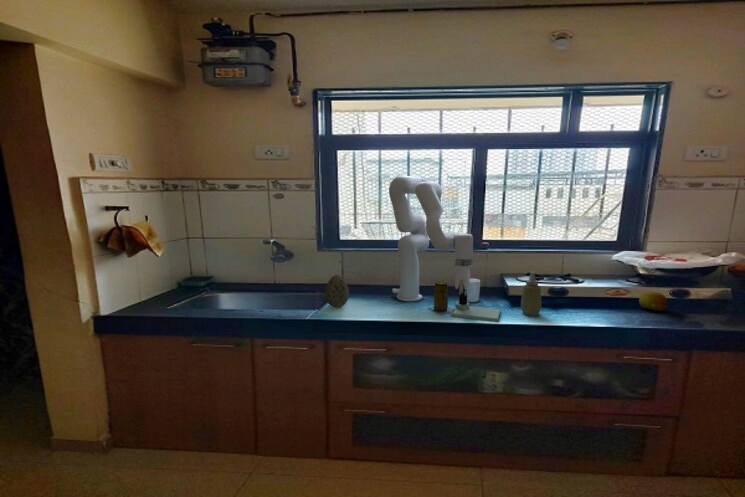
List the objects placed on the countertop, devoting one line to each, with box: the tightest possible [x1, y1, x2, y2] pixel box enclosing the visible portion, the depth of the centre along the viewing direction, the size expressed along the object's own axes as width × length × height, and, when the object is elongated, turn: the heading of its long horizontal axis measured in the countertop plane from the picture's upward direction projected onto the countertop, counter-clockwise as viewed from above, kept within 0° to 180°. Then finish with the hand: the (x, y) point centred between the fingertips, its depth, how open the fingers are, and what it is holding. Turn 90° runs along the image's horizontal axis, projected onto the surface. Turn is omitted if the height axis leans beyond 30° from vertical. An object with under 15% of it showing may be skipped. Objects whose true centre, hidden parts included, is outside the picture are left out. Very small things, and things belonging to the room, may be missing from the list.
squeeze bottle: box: [520, 271, 543, 317], centre depth 147 cm, size 8×8×18 cm
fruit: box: [638, 291, 668, 312], centre depth 150 cm, size 10×9×8 cm
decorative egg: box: [324, 274, 350, 309], centre depth 160 cm, size 11×11×15 cm
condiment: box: [429, 281, 455, 314], centre depth 154 cm, size 7×8×12 cm
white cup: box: [466, 277, 481, 303], centre depth 169 cm, size 8×8×10 cm
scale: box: [451, 301, 501, 322], centre depth 148 cm, size 18×13×3 cm
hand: (463, 303), depth 154 cm, fingers closed
